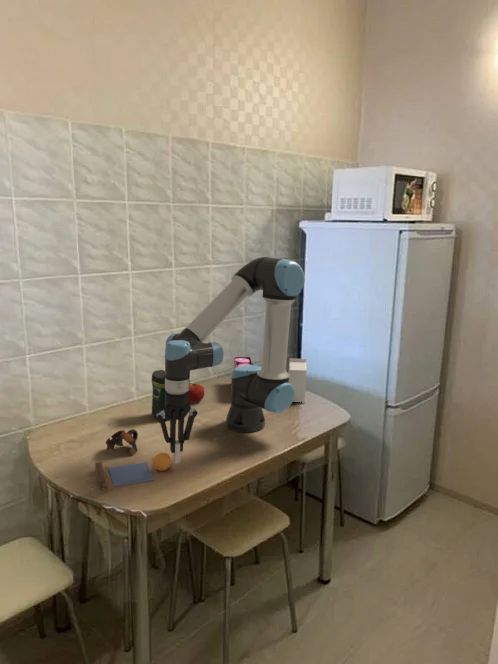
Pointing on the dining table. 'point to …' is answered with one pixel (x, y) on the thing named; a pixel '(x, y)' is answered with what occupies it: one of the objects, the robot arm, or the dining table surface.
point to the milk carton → (298, 378)
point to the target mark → (130, 474)
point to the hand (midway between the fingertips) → (176, 461)
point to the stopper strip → (101, 475)
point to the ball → (162, 461)
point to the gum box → (242, 361)
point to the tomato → (196, 393)
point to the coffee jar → (158, 393)
